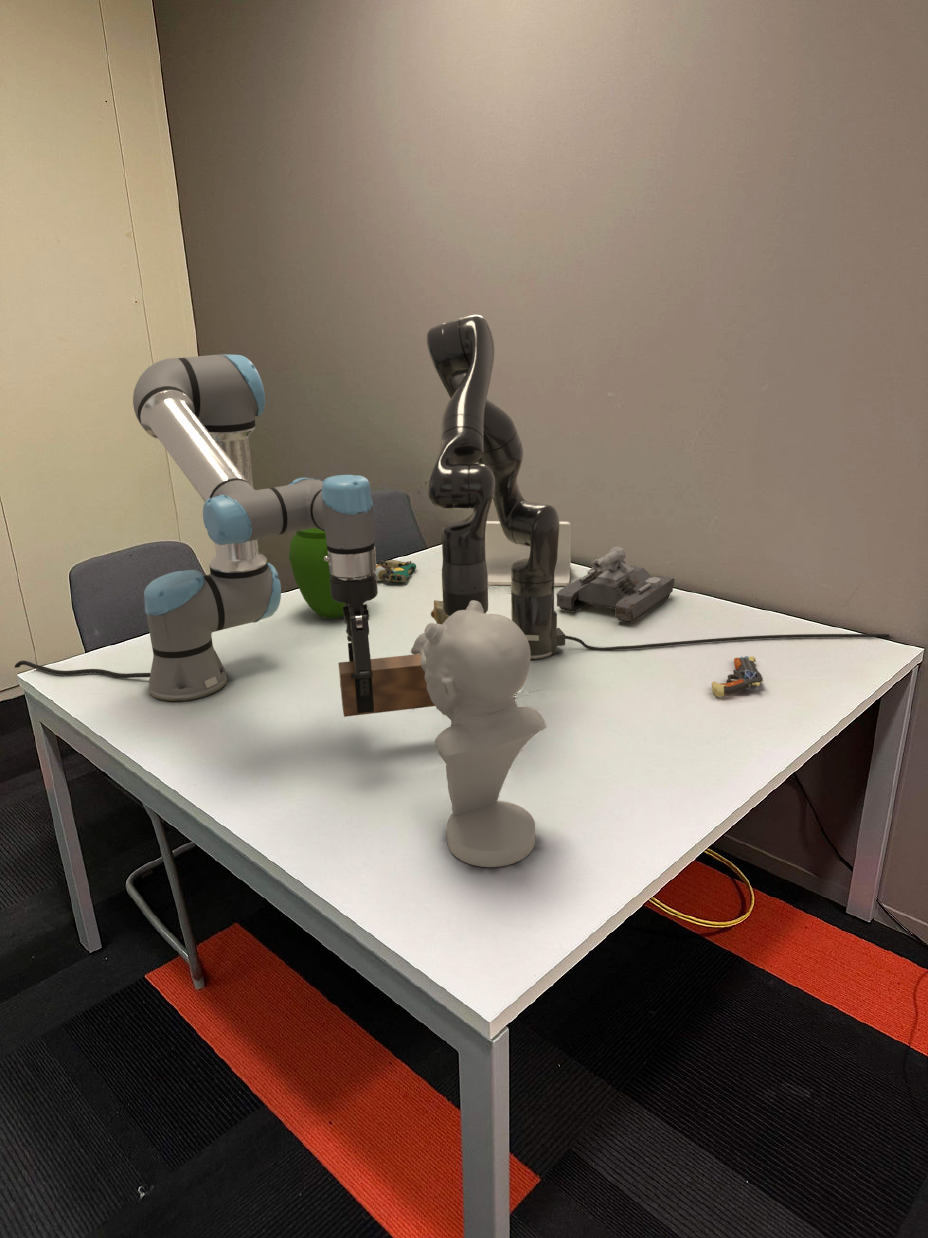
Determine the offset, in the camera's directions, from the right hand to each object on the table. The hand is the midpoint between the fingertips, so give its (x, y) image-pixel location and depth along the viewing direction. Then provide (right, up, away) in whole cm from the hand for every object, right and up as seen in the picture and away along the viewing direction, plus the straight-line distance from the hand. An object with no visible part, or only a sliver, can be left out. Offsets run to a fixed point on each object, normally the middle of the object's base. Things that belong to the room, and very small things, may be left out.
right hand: (468, 678), depth 147 cm
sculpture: (-5, -1, +33) cm, 33 cm away
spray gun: (-21, +22, +95) cm, 100 cm away
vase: (-33, +11, +67) cm, 76 cm away
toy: (+38, +14, +68) cm, 78 cm away
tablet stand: (+16, +22, +92) cm, 96 cm away
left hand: (-18, -2, -3) cm, 18 cm away
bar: (-9, -4, 0) cm, 10 cm away
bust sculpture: (0, -21, -22) cm, 30 cm away
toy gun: (+54, -2, +24) cm, 59 cm away
